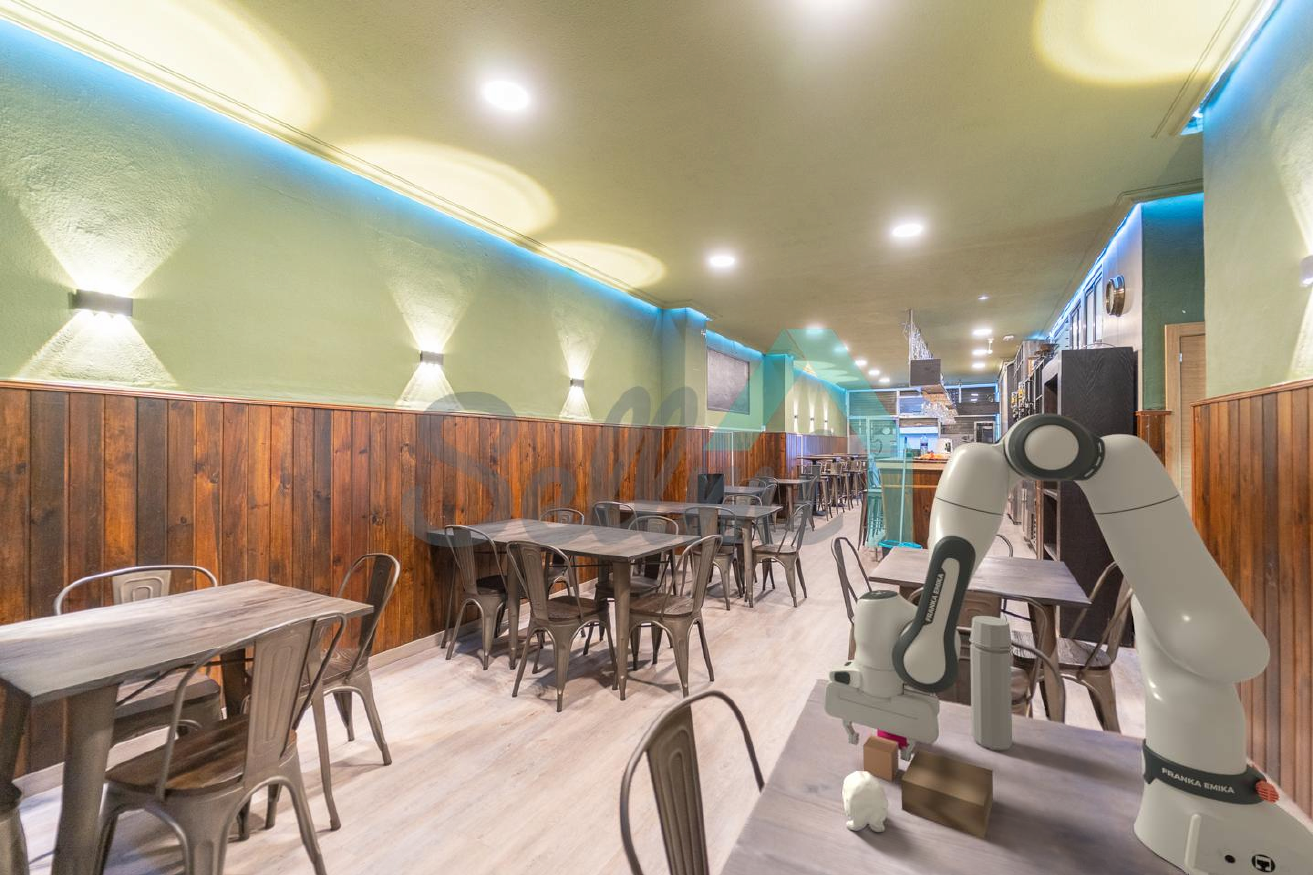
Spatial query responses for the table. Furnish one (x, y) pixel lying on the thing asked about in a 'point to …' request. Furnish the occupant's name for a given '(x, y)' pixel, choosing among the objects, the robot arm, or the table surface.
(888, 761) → the terracotta cube
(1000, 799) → the table surface
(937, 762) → the walnut stand
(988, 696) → the water bottle
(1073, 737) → the table surface
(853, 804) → the penguin figurine
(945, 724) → the table surface
